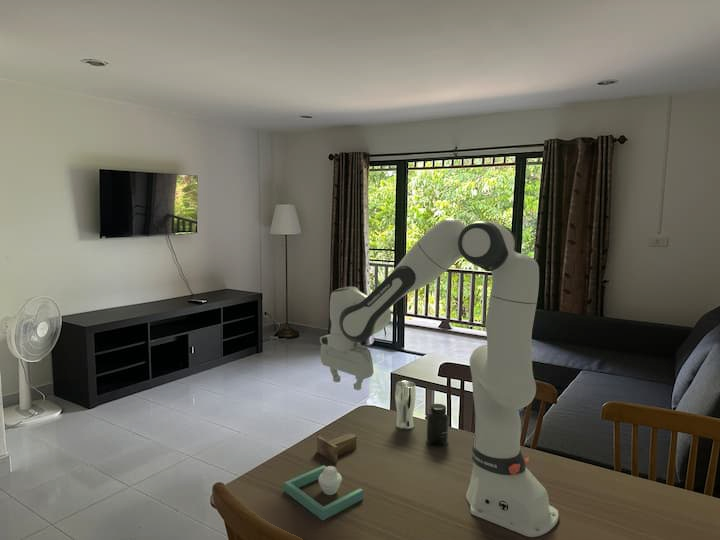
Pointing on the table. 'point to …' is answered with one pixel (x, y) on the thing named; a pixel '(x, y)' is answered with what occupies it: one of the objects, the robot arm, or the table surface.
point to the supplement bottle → (437, 425)
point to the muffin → (330, 480)
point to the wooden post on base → (336, 446)
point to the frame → (312, 505)
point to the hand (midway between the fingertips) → (346, 385)
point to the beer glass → (405, 404)
